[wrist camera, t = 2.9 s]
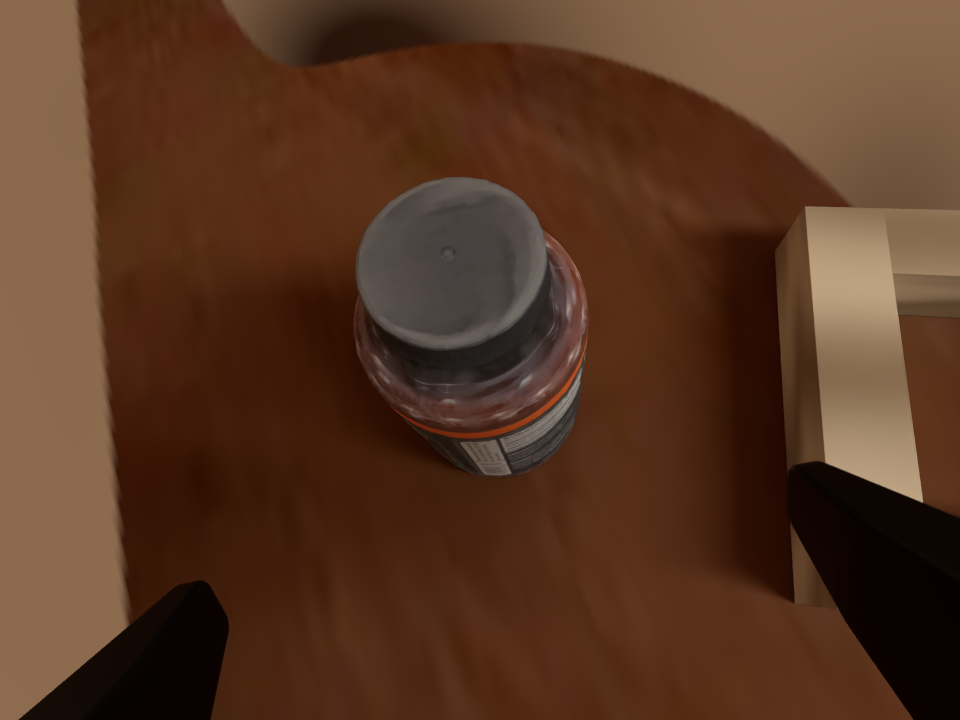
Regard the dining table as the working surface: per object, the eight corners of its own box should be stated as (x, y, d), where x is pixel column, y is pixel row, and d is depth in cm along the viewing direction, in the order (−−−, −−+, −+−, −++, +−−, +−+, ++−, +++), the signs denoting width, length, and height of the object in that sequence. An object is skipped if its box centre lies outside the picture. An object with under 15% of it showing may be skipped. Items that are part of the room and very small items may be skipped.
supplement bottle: (399, 376, 23) (265, 211, 12) (529, 307, 23) (506, 88, 13) (466, 512, 21) (372, 451, 10) (608, 434, 21) (659, 296, 11)
